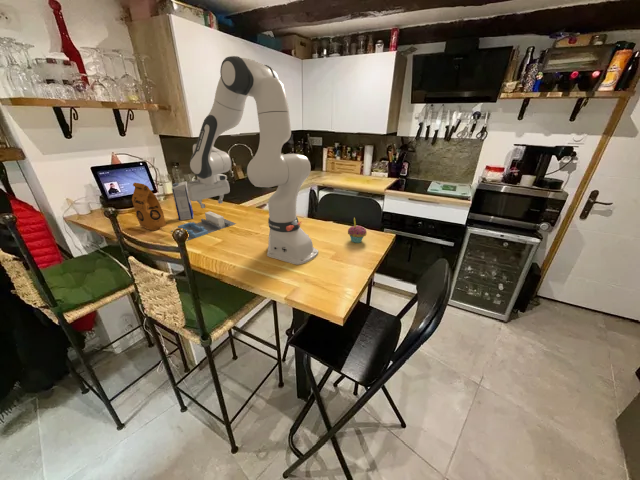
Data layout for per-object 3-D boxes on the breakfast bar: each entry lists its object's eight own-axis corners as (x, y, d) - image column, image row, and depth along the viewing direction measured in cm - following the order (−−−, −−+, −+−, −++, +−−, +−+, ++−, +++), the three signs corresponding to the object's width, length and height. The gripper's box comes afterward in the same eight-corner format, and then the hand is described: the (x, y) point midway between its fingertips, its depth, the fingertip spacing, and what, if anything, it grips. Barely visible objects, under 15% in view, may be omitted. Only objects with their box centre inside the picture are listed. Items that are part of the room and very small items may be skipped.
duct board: (236, 225, 135) (235, 219, 133) (187, 242, 116) (186, 236, 115) (219, 218, 144) (218, 212, 142) (170, 233, 125) (169, 226, 124)
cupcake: (351, 245, 116) (353, 220, 111) (344, 237, 124) (346, 213, 118) (368, 243, 118) (371, 219, 113) (361, 235, 126) (363, 212, 121)
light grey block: (224, 225, 132) (223, 216, 129) (219, 227, 129) (218, 218, 127) (211, 220, 138) (210, 211, 136) (206, 221, 136) (204, 212, 134)
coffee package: (149, 233, 125) (135, 188, 115) (137, 227, 131) (123, 183, 121) (170, 226, 132) (159, 183, 122) (158, 221, 138) (146, 180, 129)
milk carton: (193, 220, 140) (185, 183, 131) (179, 222, 138) (170, 184, 129) (193, 216, 146) (186, 180, 137) (180, 217, 144) (172, 181, 135)
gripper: (189, 183, 115) (195, 212, 121) (229, 175, 129) (233, 202, 135) (182, 180, 118) (188, 209, 124) (222, 173, 132) (226, 199, 139)
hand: (212, 205), depth 130 cm, fingers open, 8 cm apart
